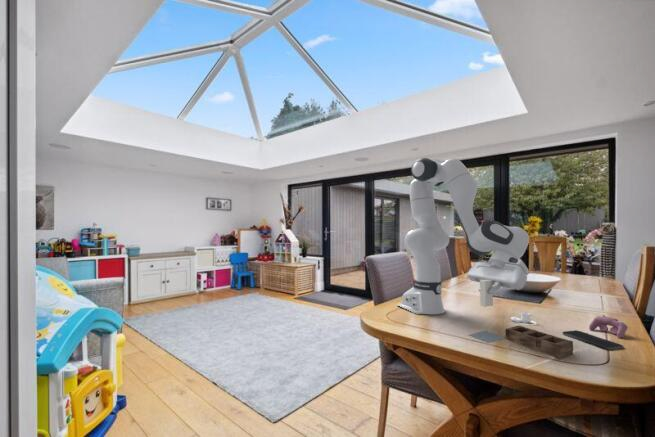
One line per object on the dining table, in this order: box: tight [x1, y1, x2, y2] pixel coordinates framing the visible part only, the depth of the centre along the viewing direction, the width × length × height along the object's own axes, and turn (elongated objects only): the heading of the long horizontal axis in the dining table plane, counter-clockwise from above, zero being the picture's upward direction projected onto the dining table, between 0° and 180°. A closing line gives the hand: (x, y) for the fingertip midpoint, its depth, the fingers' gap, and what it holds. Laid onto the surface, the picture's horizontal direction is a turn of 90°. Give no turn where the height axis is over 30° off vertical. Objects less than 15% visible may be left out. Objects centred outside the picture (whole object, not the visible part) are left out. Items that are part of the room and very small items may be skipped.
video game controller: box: [588, 315, 629, 339], centre depth 110 cm, size 10×5×7 cm, turn 22°
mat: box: [468, 330, 506, 344], centre depth 107 cm, size 8×10×1 cm
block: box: [479, 280, 494, 308], centre depth 107 cm, size 2×4×9 cm, turn 116°
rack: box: [505, 325, 574, 360], centre depth 98 cm, size 17×8×4 cm, turn 26°
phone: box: [562, 329, 624, 351], centre depth 103 cm, size 8×1×15 cm
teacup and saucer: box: [510, 311, 538, 326], centre depth 123 cm, size 9×8×4 cm
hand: (485, 292), depth 107 cm, fingers closed on block, 2 cm apart
